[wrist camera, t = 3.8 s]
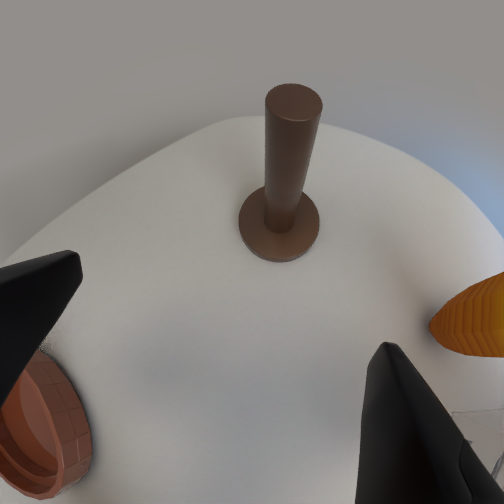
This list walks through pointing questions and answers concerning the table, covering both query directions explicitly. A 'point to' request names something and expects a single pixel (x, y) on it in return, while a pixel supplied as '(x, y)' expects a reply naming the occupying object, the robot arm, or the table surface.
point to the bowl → (43, 432)
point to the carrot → (473, 320)
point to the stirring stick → (284, 178)
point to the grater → (485, 437)
